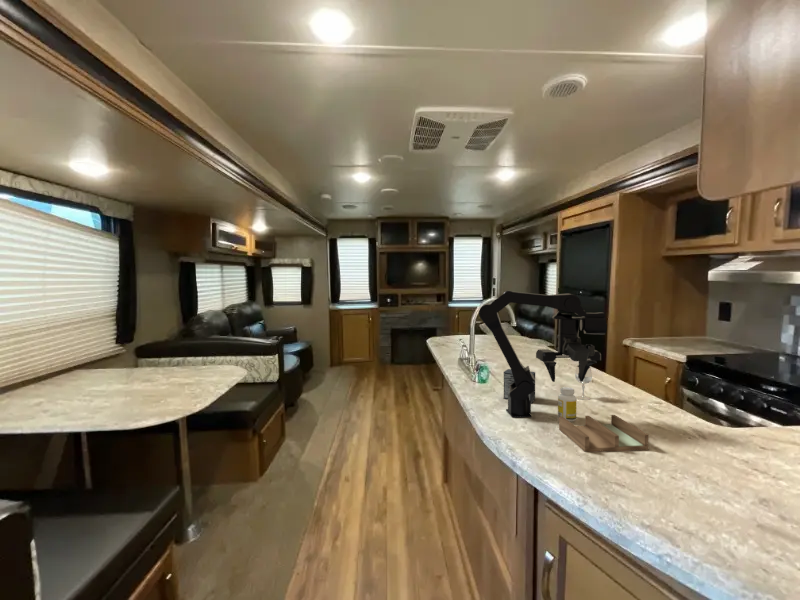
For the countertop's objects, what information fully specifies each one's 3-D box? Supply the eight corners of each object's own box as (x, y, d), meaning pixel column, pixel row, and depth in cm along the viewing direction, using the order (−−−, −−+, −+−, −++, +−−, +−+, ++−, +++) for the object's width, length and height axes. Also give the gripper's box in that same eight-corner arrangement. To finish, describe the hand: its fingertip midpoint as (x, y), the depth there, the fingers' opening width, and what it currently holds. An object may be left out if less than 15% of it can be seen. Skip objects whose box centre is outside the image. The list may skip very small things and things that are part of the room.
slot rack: (585, 451, 94) (585, 436, 93) (559, 429, 108) (559, 416, 107) (648, 449, 94) (648, 434, 94) (614, 427, 108) (614, 414, 108)
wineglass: (590, 401, 131) (590, 369, 131) (573, 398, 135) (573, 367, 134) (593, 397, 136) (593, 366, 135) (576, 394, 139) (576, 364, 139)
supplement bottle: (578, 418, 116) (579, 388, 115) (573, 423, 112) (573, 392, 111) (561, 414, 120) (561, 385, 119) (555, 419, 116) (555, 389, 115)
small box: (535, 398, 135) (536, 371, 135) (532, 404, 130) (532, 375, 129) (507, 394, 141) (507, 368, 140) (502, 399, 136) (503, 371, 135)
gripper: (551, 337, 106) (550, 389, 107) (613, 336, 107) (611, 388, 108) (535, 332, 117) (534, 379, 118) (591, 331, 118) (590, 378, 119)
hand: (567, 381), depth 115 cm, fingers open, 9 cm apart
